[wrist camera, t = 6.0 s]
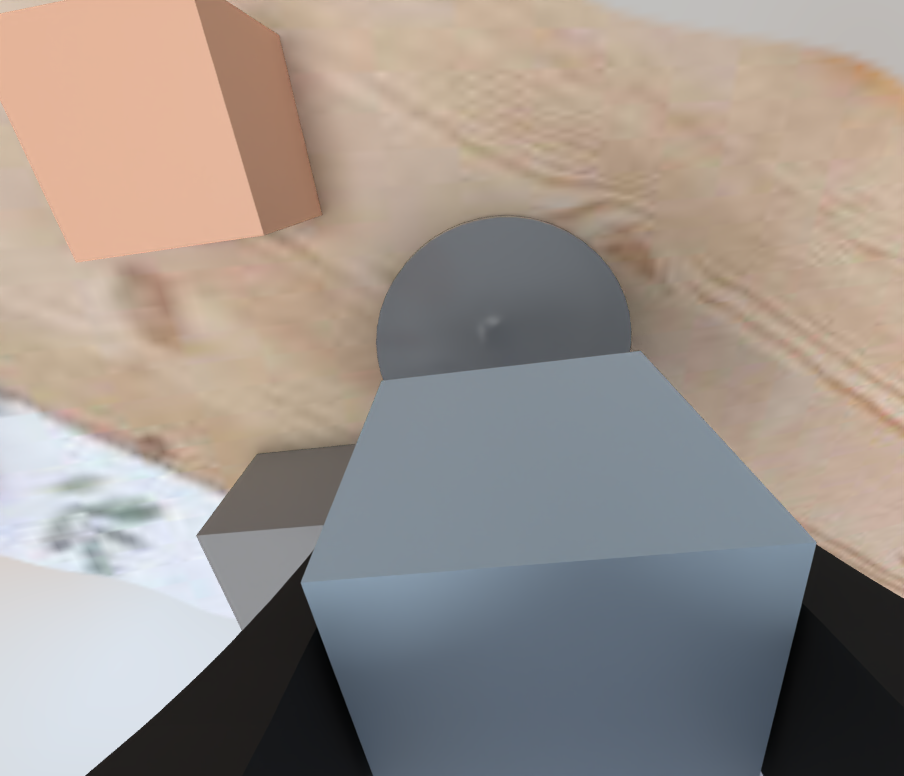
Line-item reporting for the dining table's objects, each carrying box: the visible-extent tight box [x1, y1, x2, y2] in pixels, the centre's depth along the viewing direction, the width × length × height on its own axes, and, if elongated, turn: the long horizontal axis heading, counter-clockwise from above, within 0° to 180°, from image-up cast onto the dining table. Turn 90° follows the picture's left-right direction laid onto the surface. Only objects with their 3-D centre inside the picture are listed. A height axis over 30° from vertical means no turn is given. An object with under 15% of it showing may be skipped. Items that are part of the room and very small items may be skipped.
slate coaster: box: [376, 216, 631, 380], centre depth 17 cm, size 9×9×1 cm
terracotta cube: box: [0, 0, 322, 262], centre depth 13 cm, size 5×5×5 cm
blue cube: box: [301, 351, 817, 776], centre depth 8 cm, size 5×5×5 cm
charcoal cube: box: [196, 444, 356, 630], centre depth 19 cm, size 5×5×5 cm
